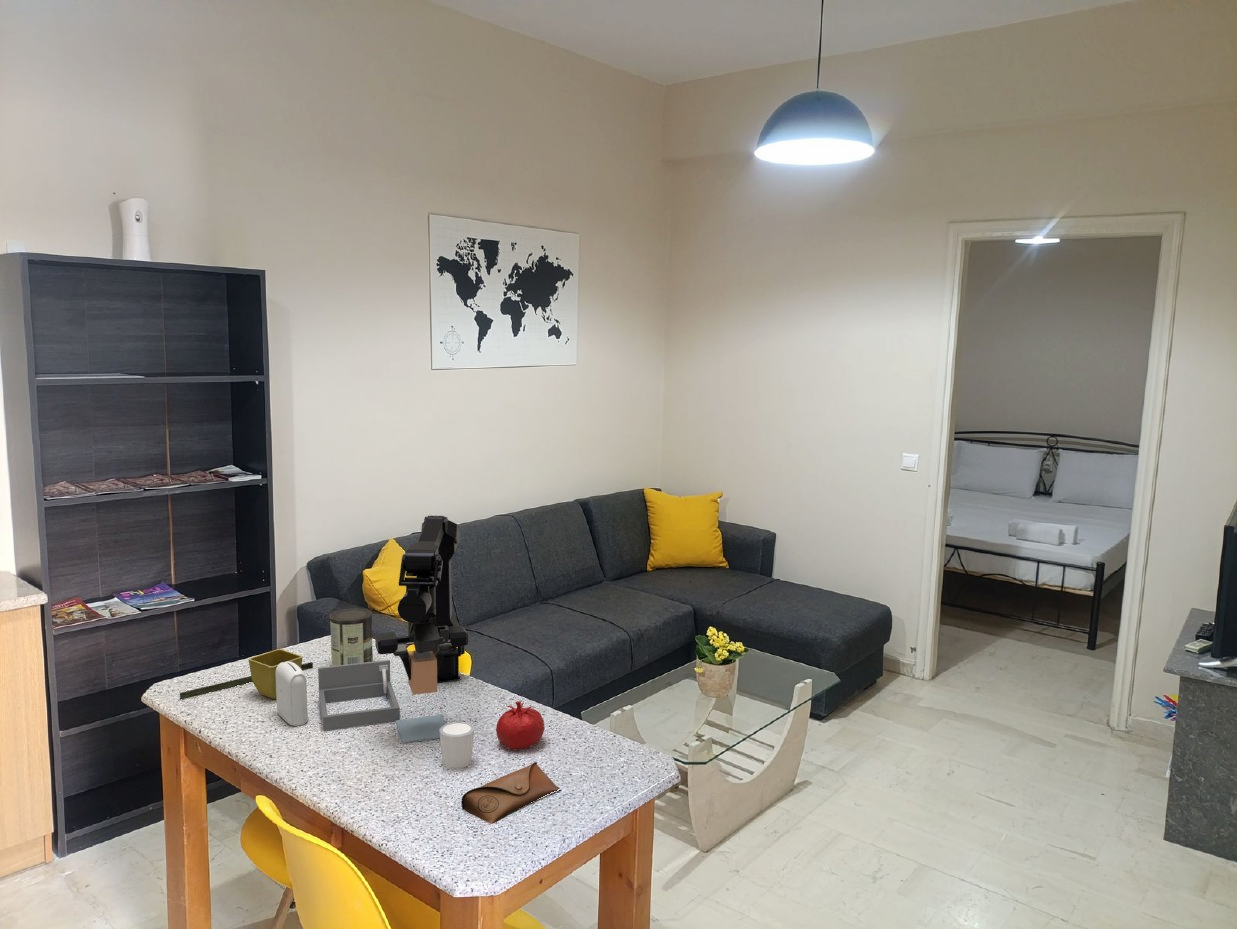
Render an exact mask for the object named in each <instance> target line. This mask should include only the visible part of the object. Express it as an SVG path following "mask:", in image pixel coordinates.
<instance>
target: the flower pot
mask: <svg viewBox="0 0 1237 929" xmlns="http://www.w3.org/2000/svg"><path fill="white" fill-rule="evenodd" d="M286 661H290V662H293V663H295V664H296V665H298V666H299V667H300V668H301V666H302V664H303V656H302V655H300V654H297V653H294V652H291V651H289V650H285V649H281V648H276V649H274V650H271V651H268V652H264V653H262V654H259V655H256V656H252V657H250V658H248V664H249V665H248V666H249V670H250V676H251V677H252V681H253V683H252V684H253V685H254V687H255V689H256V690H257V691H258V692H259V694H260V695H262V696H264V697H267V698H270V699H273V700H275V699H276V700H277V698H276V668H277V666H278V665H279V664H280V663H282V662H286Z"/></svg>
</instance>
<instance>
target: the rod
mask: <svg viewBox="0 0 1237 929" xmlns="http://www.w3.org/2000/svg"><path fill="white" fill-rule="evenodd" d="M313 667H314V662H313V661H310V662H307V663H302V666H301V670H302V671H303V672H304V671H306V670H311V669H313ZM249 682H253V681H252V677H251V675H249V676H245V677H241V678H236V679H233V680H228V681H224V682H221V683H215V684H211V685H206V686H203V687H202V686H201V687H198V688H194V689H191V690H186V691H181V692H179V699H180V700H181V699H182V700H185V699H186V700H187V699H190V698H195V697H198V696H203V695H206V693H207V694H210V693H209V692H211V693H215V692H219V691H222V689H224V690H227V689H232V688H236V687H238V686H237V685H240V686H245V685H247V684H246V683H249ZM244 684H245V685H244ZM249 684H250V683H249ZM235 686H236V687H235ZM231 687H232V688H231Z"/></svg>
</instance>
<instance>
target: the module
mask: <svg viewBox="0 0 1237 929" xmlns="http://www.w3.org/2000/svg"><path fill="white" fill-rule="evenodd" d="M408 653H409V663H410V670H411V680H409V679H408V678H407V682H408V685H409V688H410V691H411V694H412V695H413V696H414V695H415V696H416V695H422V694H423V695H424V694H430V693H437V692H438V682H437V659H436V657H435V655H434V653H433V652H432V651H431V652H424V653H417V652H416V651H415V650H410V651H408Z"/></svg>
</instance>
